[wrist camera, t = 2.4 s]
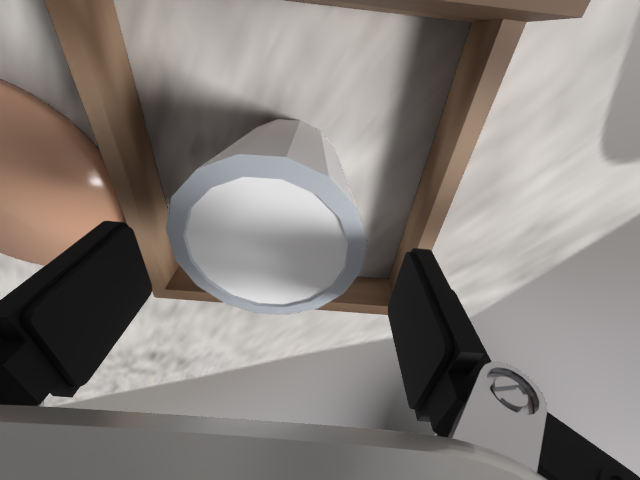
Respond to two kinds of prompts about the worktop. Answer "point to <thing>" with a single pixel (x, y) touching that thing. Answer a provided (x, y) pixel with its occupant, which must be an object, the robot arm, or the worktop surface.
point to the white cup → (270, 222)
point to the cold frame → (443, 3)
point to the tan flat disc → (48, 180)
